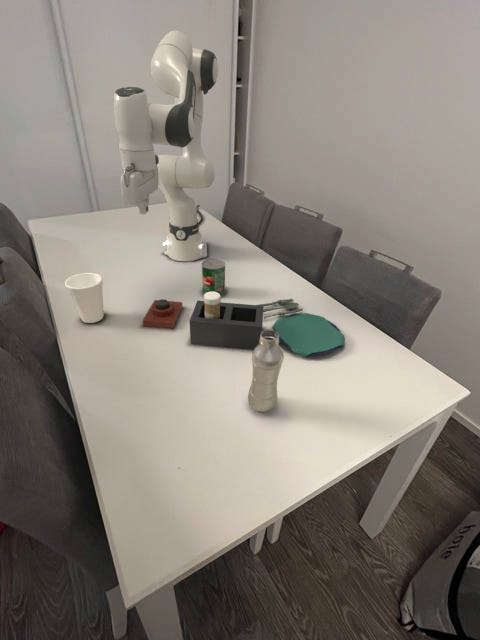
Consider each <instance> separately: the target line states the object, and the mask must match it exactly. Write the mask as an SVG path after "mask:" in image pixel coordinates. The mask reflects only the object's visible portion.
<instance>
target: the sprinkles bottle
mask: <svg viewBox="0 0 480 640" xmlns="http://www.w3.org/2000/svg"><path fill="white" fill-rule="evenodd" d="M221 297H222V296H220V294H219V293H217V292H207V293H205V294H203V301H204V303H205V318H211V319H220V302H221V300H222V299H221Z"/></svg>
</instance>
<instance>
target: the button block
mask: <svg viewBox="0 0 480 640" xmlns="http://www.w3.org/2000/svg"><path fill="white" fill-rule="evenodd" d="M158 300H159V299H154V301H153V302H152V304H151V305H150V307H149V309H148V311H147V313H146V314H145V316H144V318H143V319H142V325H143V327H145V328H157V329H167V330H168V329H169V330H173V329H174V328H175V326H176V324H177V321H178V319H179V316H180V314H181V312H182V310H183V302H182V301H174V300H173V301H172V300H167V301H168V304H169V308H167V309H164V310H159V309H157V305H156V302H157V301H158Z"/></svg>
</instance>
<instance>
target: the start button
mask: <svg viewBox="0 0 480 640" xmlns="http://www.w3.org/2000/svg"><path fill="white" fill-rule="evenodd" d="M157 300H158V301H157V302H156V305H157V309H159V310H164V309H167V308H169V304H168V301H169V300H167V299H164V298H163V299H162V298H161V299H157Z"/></svg>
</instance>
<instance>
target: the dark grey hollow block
mask: <svg viewBox="0 0 480 640" xmlns="http://www.w3.org/2000/svg"><path fill="white" fill-rule="evenodd" d="M264 308H265V306H259V304H246V303H245V304H244V303H235V302H221V301H220V319H211V318H205V303H204V300H199V299H198V300H196V303H195V306H194V308H193V310H192V313H191V316H190V319H189V337H190V339H189V340H190V345H194V346H195V345H196V346H208V347H217V348H230V349H239V350H243V349H244V350H252V351H253V350H254V348H255V347H256V346H257V345H258V344H259V343H260V342H259V340H260V334H261V332H262V331H263V326H264V325H263V324H264V312H263V310H264Z"/></svg>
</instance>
